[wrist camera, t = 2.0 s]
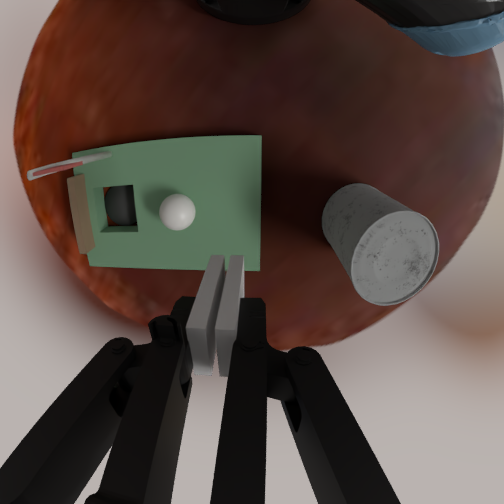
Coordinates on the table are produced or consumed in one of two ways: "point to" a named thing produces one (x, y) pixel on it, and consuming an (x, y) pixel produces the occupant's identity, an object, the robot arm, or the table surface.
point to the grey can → (380, 243)
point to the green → (156, 191)
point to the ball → (177, 212)
